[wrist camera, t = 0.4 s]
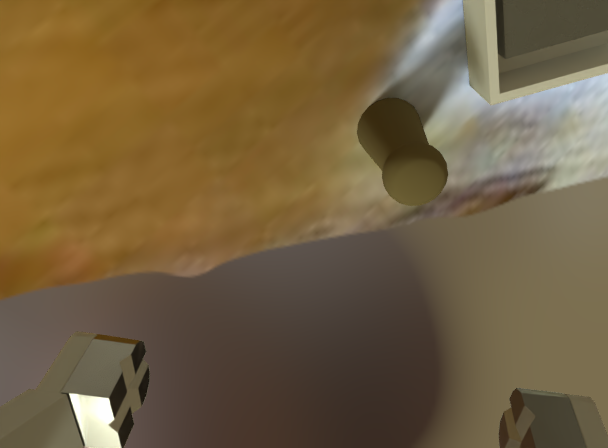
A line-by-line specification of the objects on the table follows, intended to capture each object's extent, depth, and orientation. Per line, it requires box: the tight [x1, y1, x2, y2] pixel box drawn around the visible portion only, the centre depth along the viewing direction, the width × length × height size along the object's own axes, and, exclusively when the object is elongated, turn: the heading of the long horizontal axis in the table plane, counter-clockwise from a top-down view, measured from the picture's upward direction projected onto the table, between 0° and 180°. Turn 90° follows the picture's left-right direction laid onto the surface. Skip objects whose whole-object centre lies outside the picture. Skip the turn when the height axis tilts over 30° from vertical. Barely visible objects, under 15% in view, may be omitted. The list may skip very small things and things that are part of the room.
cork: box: [357, 98, 448, 206], centre depth 46 cm, size 6×6×11 cm
